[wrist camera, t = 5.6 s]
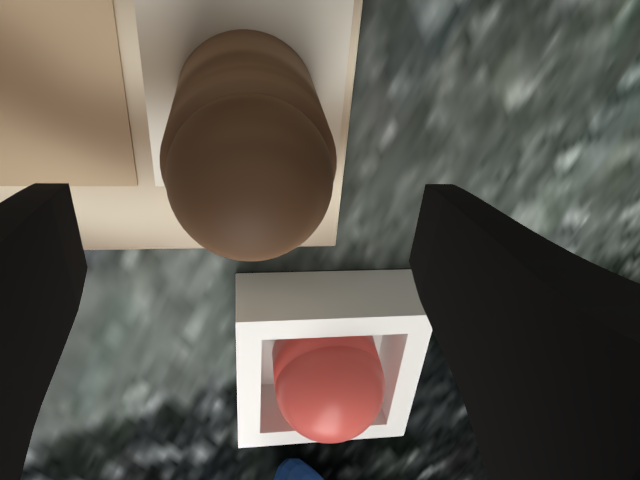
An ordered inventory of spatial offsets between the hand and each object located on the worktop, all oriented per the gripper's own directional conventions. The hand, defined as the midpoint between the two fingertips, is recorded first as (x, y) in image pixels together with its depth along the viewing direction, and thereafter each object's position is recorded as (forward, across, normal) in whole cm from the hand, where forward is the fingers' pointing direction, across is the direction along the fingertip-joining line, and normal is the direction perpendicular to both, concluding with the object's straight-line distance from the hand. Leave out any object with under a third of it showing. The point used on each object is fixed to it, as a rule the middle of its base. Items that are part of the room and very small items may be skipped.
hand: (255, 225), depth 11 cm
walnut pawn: (+8, 0, 0) cm, 8 cm away
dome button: (+8, -3, +12) cm, 15 cm away
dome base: (+8, -4, +12) cm, 15 cm away
